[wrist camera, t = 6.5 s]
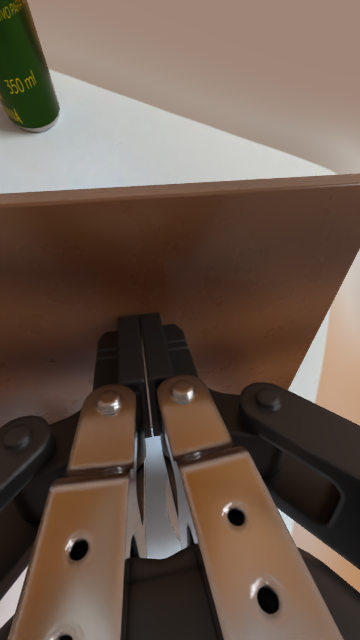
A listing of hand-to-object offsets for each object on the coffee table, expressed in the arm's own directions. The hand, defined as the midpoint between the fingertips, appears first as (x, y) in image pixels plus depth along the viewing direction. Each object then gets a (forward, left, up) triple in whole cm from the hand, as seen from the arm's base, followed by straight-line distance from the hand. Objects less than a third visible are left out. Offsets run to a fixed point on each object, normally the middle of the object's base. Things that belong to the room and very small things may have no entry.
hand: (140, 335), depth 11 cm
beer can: (-8, +29, -16) cm, 34 cm away
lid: (0, 0, -2) cm, 2 cm away
